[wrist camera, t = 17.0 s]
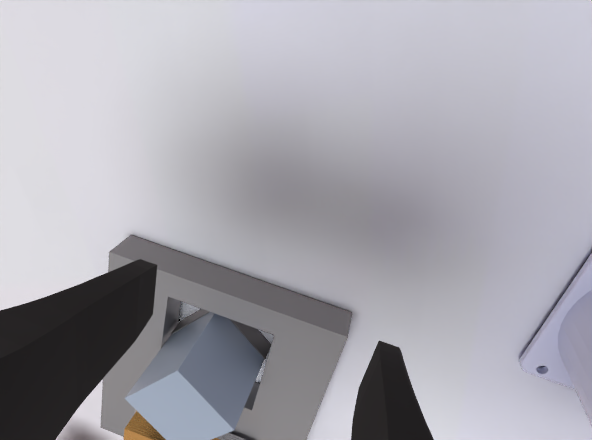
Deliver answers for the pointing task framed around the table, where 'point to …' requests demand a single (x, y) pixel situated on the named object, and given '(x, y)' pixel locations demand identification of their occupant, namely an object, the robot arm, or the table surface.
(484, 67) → the table surface
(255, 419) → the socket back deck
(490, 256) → the table surface
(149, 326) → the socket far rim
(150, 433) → the panel
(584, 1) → the table surface
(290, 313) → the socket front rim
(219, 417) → the plug
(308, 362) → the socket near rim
